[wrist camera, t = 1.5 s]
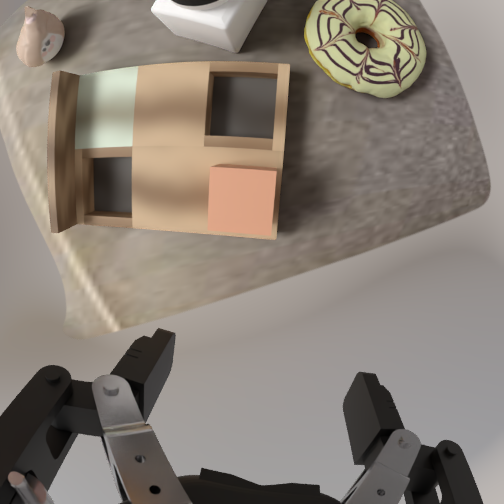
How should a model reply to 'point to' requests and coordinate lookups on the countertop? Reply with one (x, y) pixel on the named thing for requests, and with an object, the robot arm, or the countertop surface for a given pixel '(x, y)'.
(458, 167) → the countertop surface
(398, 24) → the decorated donut
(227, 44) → the medicine bottle
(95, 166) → the board
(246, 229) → the block
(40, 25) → the garlic bulb
